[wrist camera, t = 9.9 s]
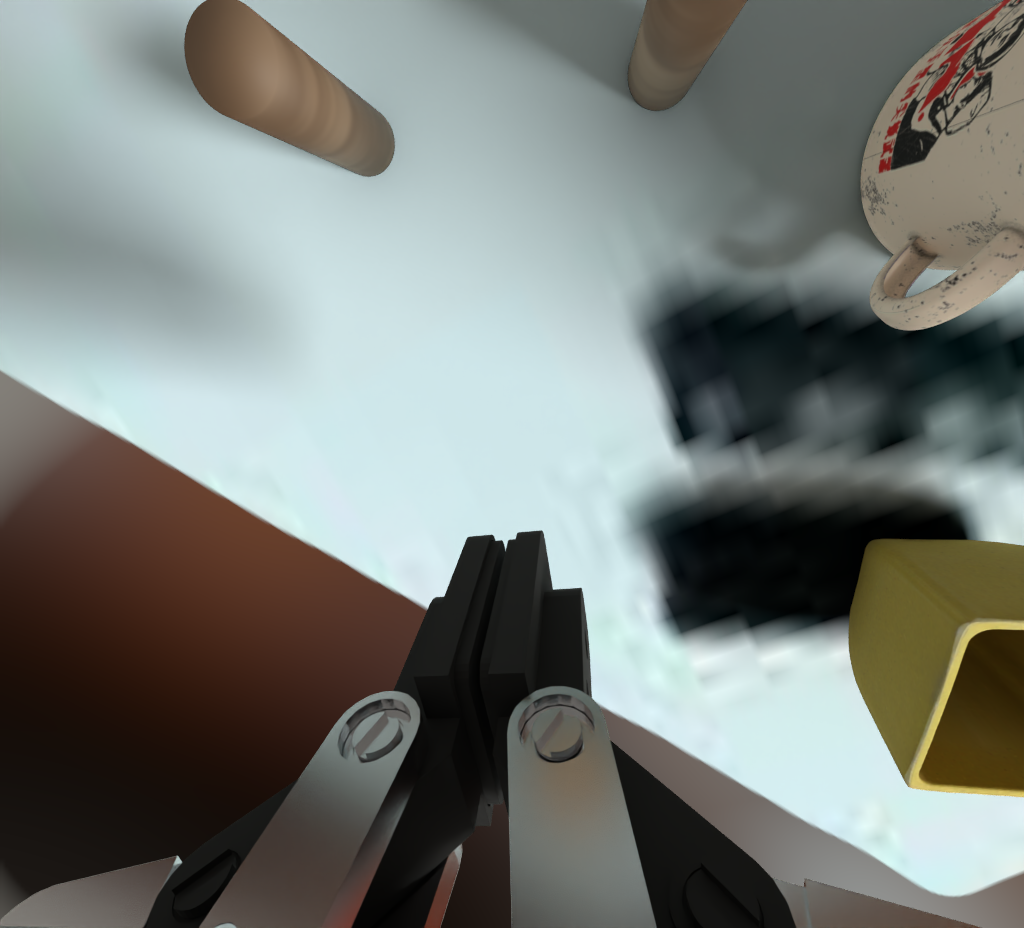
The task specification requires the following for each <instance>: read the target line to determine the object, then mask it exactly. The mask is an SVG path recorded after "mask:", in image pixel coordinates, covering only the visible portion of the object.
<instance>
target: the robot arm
mask: <svg viewBox="0 0 1024 928" xmlns="http://www.w3.org/2000/svg"><path fill="white" fill-rule="evenodd" d="M503 800H505V804H506V808H507V812H508V816H509V830H510V871H511V912H512V928H982V927H978V926H975V925H971V924H968V923H964V922H960V921H957V920H953V919H949V918H946V917H942V916H939V915H935V914H932V913H928V912H924V911H921V910H917V909H914V908H910V907H906V906H903V905H899V904H896V903H892V902H889V901H885V900H881V899H878V898H874V897H871V896H867V895H863V894H860V893H856V892H853V891H848V890H845V889H842V888H838V887H834V886H831V885H827V884H824V883H820V882H817V881H812V880H809V879H804V887H803V886H799V885H796V884H792V883H789V882H785V881H782V880H778V879H775V878H771V877H770V876H769V875H768V873H767V872H766V871H765V870H764V869H763V868H762V867H761V866H760V865H759V864H758V863H757V862H756V861H755V860H754V859H753V858H751V857H750V856H749V855H748V854H746V853H745V852H744V851H743V850H742V849H740V848H739V847H738V846H737V845H736V844H734V843H733V842H732V841H731V840H730V839H728V838H727V837H726V836H725V835H724V834H722V833H721V832H720V831H719V830H718V829H716V828H715V827H714V826H713V825H711V824H710V823H709V822H708V821H707V820H705V819H704V818H703V817H702V816H701V815H700V814H698V813H697V812H696V811H695V810H694V809H692V808H691V807H690V806H689V805H688V804H686V803H685V802H684V801H683V800H682V799H680V798H679V797H678V796H677V795H676V794H674V793H673V792H672V791H671V790H670V789H668V788H667V787H666V786H665V785H664V784H662V783H661V782H660V781H659V780H658V779H656V778H655V777H654V776H653V775H651V774H650V773H649V772H648V771H647V770H645V769H644V768H643V767H642V766H641V765H639V764H638V763H637V762H636V761H635V760H633V759H632V758H631V757H630V756H629V755H627V754H626V753H625V752H624V751H622V750H621V749H620V748H619V747H618V746H617V745H615V744H614V743H613V742H612V741H611V740H610V738H609V734H608V730H607V726H606V721H605V718H604V716H603V713H602V711H601V709H600V707H599V705H598V704H597V703H596V702H595V701H594V700H593V699H592V694H591V672H590V653H589V640H588V630H587V621H586V613H585V606H584V598H583V592H582V588H573V589H557V590H553V588H552V581H551V575H550V569H549V563H548V557H547V551H546V544H545V539H544V534H543V531H531V532H519V533H517V536H516V539H513V540H509V541H508V544H507V548H506V552H505V547H504V543H503V541H502V540H501V541H495V538H494V536H493V535H484V536H473V537H468V538H467V540H466V542H465V545H464V547H463V550H462V553H461V555H460V558H459V560H458V563H457V565H456V568H455V571H454V573H453V576H452V578H451V581H450V583H449V586H448V589H447V591H446V594H445V596H444V597H436V598H434V599H433V600H432V602H431V603H430V605H429V608H428V610H427V613H426V615H425V617H424V620H423V622H422V624H421V627H420V629H419V632H418V634H417V636H416V639H415V641H414V644H413V646H412V648H411V650H410V653H409V655H408V658H407V660H406V662H405V665H404V667H403V670H402V672H401V674H400V677H399V679H398V681H397V684H396V686H395V688H394V691H387V692H381V693H378V694H374V695H371V696H369V697H367V698H365V699H363V700H361V701H360V702H358V703H356V704H355V705H354V706H352V707H351V708H350V709H349V710H348V711H346V712H345V713H344V715H343V716H342V717H341V718H340V719H339V721H338V722H337V723H336V724H335V726H334V727H333V729H332V730H331V732H330V733H329V735H328V736H327V738H326V739H325V741H324V742H323V744H322V745H321V747H320V748H319V750H318V751H317V753H316V754H315V756H314V757H313V759H312V760H311V761H310V763H309V764H308V766H307V768H306V769H305V770H304V772H303V773H302V775H301V777H300V778H299V779H297V780H296V781H294V782H293V783H292V784H290V785H289V786H287V787H286V788H284V789H283V790H281V791H280V792H279V793H277V794H276V795H274V796H273V797H271V798H270V799H268V800H267V801H265V802H264V803H263V804H261V805H260V806H258V807H257V808H255V809H254V810H253V811H251V812H250V813H248V814H247V815H245V816H244V817H242V818H241V819H239V820H238V821H236V822H235V823H233V824H232V825H231V826H229V827H228V828H226V829H225V830H223V831H222V832H220V833H219V834H218V835H216V836H215V837H213V838H212V839H210V840H209V841H207V842H206V843H205V844H203V845H202V846H201V847H199V848H198V849H197V850H196V851H195V852H193V853H192V854H191V855H190V856H188V857H187V858H186V859H185V860H184V861H183V862H181V860H180V859H179V857H178V856H175V857H171V858H166V859H162V860H158V861H154V862H150V863H146V864H141V865H137V866H133V867H129V868H125V869H121V870H116V871H112V872H108V873H104V874H100V875H96V876H92V877H87V878H84V879H79V880H75V881H71V882H67V883H62V884H59V885H55V886H52V887H50V888H47V889H45V890H42V891H40V892H37V893H35V894H34V895H32V896H31V897H29V898H28V899H26V900H25V901H24V902H22V903H20V904H19V905H17V906H16V907H14V908H13V909H12V910H11V911H10V912H9V913H8V914H6V915H5V916H4V917H3V918H2V919H1V920H0V928H440V926H441V923H442V920H443V917H444V914H445V910H446V907H447V904H448V901H449V898H450V895H451V891H452V888H453V885H454V882H455V879H456V875H457V872H458V869H459V866H460V860H461V855H462V843H463V842H464V841H465V840H466V839H467V838H468V837H469V836H470V835H471V834H472V833H473V832H474V830H475V826H490V825H491V818H492V812H493V805H494V804H502V803H503Z"/></svg>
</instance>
